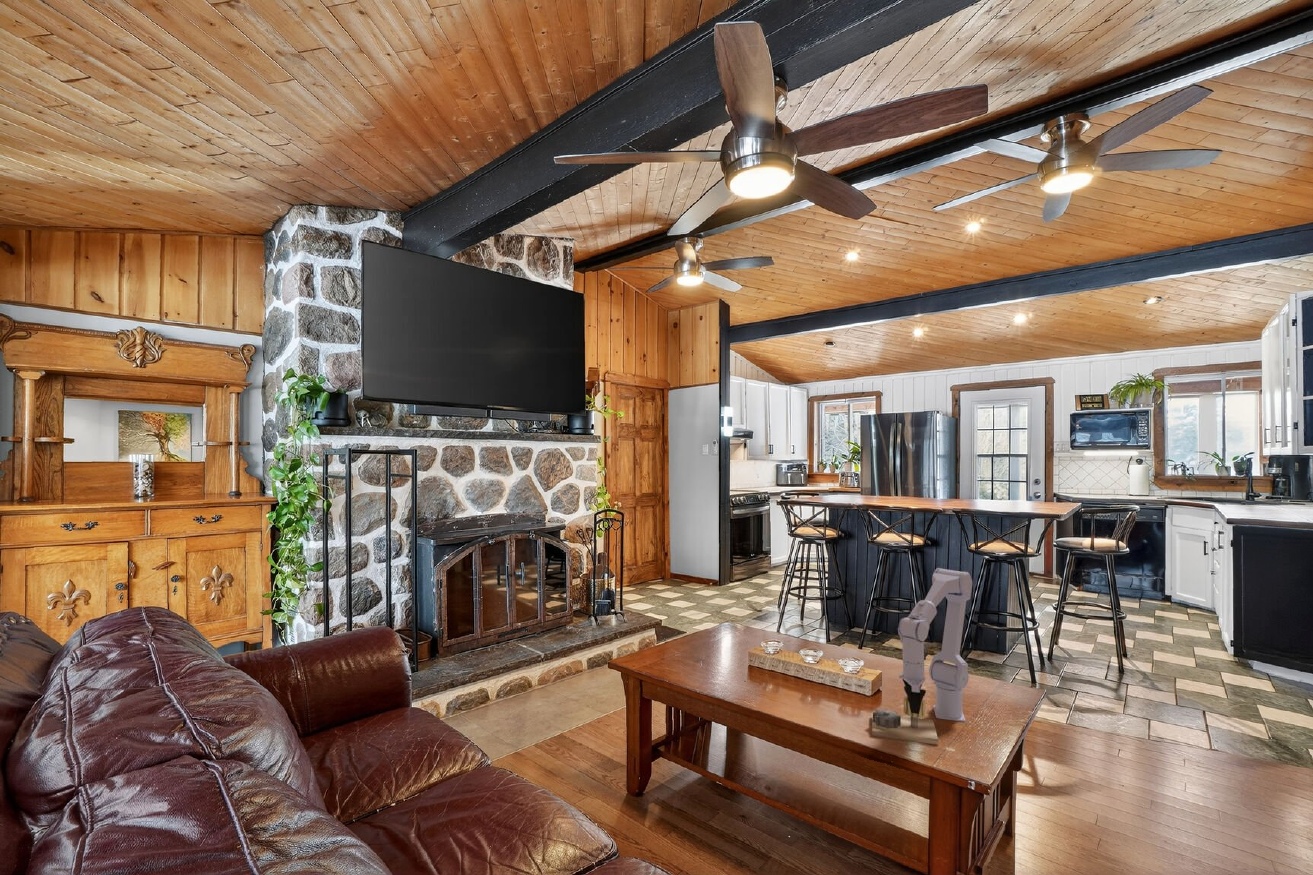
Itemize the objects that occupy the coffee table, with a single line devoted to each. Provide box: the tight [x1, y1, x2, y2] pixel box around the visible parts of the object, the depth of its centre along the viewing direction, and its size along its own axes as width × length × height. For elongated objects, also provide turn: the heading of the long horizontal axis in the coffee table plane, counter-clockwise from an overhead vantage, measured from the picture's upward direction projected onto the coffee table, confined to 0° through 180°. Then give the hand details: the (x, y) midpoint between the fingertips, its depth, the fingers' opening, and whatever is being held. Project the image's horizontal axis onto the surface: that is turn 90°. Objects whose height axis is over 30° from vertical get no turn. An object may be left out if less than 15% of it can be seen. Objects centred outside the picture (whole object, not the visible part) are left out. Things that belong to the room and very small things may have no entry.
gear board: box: [871, 708, 939, 746], centre depth 175 cm, size 13×17×5 cm
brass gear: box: [902, 695, 926, 719], centre depth 174 cm, size 6×6×4 cm
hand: (914, 708), depth 174 cm, fingers closed on brass gear, 6 cm apart
